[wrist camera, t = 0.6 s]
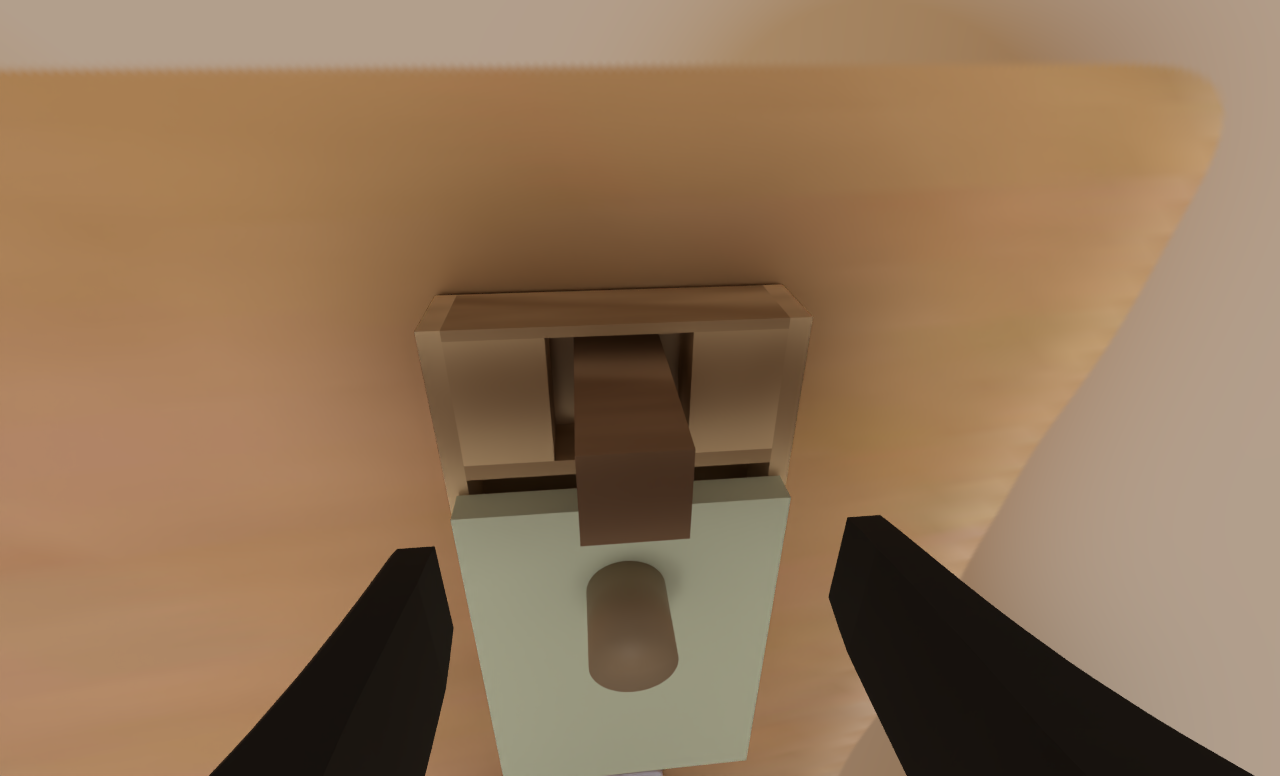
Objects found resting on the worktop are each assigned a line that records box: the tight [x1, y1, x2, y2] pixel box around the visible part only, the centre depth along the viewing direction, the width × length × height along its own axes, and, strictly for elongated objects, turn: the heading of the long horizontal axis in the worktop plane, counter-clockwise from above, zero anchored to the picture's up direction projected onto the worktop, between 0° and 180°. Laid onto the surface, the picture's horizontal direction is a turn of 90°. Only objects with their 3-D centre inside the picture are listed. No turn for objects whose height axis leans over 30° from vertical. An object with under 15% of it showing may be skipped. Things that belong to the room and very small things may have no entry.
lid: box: [451, 476, 791, 776], centre depth 19 cm, size 13×9×4 cm
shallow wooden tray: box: [414, 285, 813, 516], centre depth 20 cm, size 20×10×2 cm, turn 0°
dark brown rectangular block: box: [574, 334, 696, 547], centre depth 15 cm, size 2×2×6 cm
